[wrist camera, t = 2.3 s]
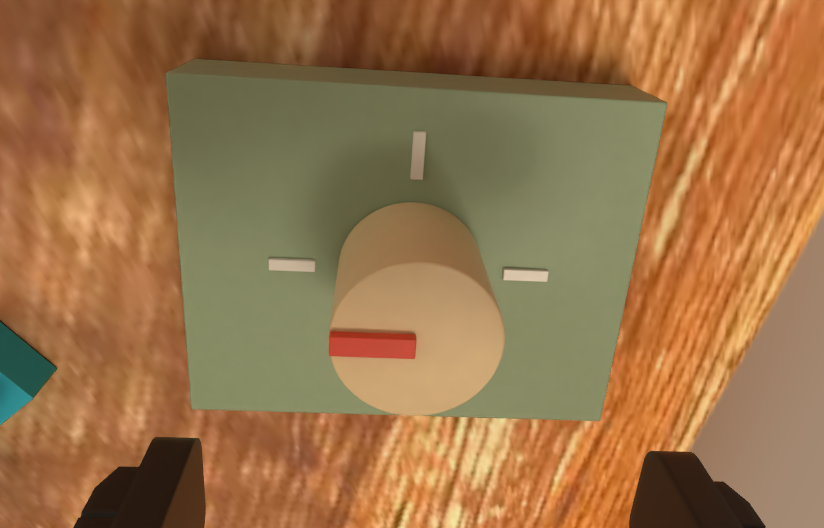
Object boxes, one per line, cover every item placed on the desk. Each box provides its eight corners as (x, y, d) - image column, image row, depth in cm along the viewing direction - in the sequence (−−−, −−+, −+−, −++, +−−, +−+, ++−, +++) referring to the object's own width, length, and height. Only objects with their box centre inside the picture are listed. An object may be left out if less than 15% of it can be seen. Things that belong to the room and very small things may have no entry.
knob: (488, 205, 20) (517, 271, 16) (473, 334, 22) (496, 426, 18) (340, 197, 20) (329, 263, 16) (336, 329, 22) (326, 421, 17)
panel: (633, 85, 22) (671, 103, 19) (578, 374, 26) (601, 424, 24) (192, 58, 21) (162, 72, 18) (211, 362, 26) (189, 412, 23)
